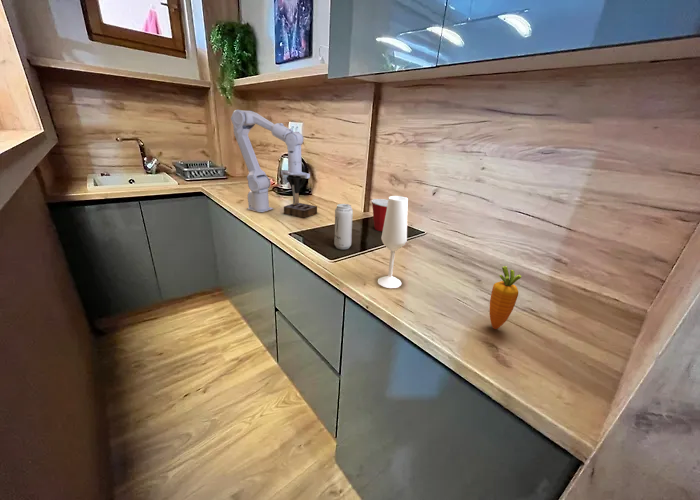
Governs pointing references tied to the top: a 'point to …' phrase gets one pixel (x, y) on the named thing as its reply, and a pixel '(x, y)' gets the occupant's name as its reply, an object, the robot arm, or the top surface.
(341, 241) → the energy drink can
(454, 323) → the top surface
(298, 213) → the dark wooden slotted block
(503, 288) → the carrot
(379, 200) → the plastic cup
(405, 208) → the champagne flute
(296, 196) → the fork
